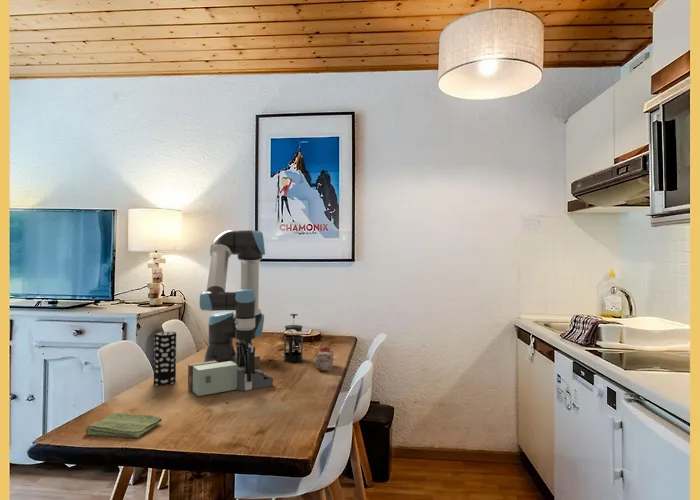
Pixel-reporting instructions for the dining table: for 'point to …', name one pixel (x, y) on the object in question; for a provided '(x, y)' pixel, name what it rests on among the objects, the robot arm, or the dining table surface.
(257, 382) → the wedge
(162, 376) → the spotted tube
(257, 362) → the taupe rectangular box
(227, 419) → the dining table surface
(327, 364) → the food item
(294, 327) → the french press
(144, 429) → the washcloth
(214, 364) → the pale green box
